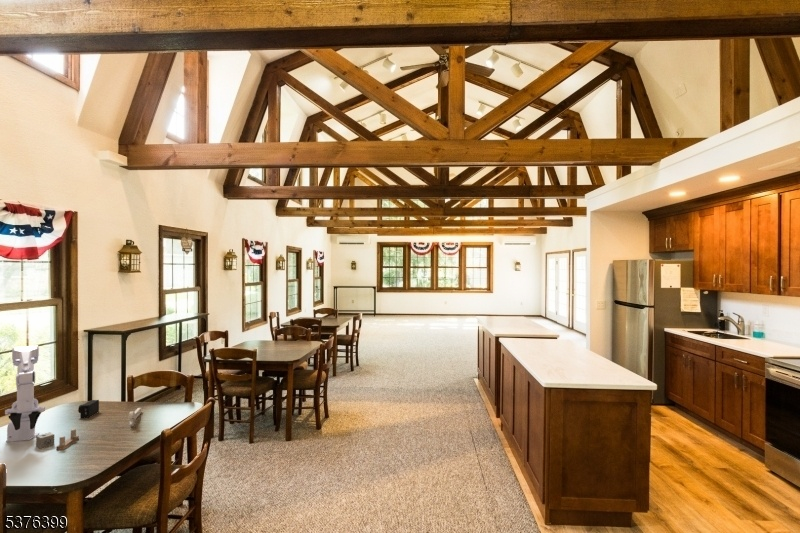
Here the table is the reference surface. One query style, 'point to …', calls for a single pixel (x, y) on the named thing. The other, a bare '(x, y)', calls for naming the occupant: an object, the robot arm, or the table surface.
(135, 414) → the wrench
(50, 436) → the dice cube
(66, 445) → the peg rack
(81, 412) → the digital camera
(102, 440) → the table surface
